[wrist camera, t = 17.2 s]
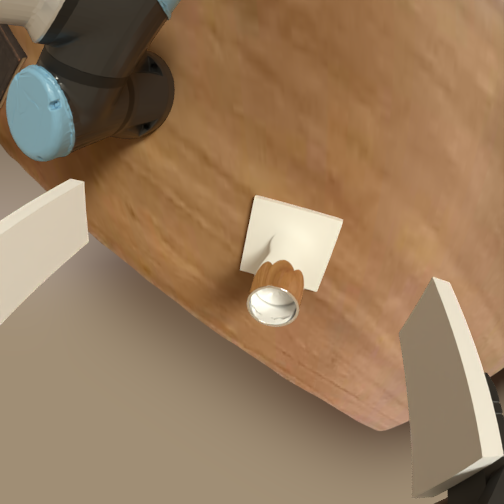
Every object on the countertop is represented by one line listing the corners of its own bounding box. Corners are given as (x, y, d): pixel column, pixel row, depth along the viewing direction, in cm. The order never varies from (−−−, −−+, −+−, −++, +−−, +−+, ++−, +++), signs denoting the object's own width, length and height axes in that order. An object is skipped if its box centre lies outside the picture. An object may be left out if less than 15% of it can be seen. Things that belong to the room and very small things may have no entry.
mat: (241, 267, 56) (239, 270, 56) (255, 194, 49) (254, 197, 48) (317, 288, 55) (316, 291, 54) (342, 219, 48) (342, 221, 47)
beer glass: (266, 227, 50) (242, 282, 38) (310, 229, 49) (301, 287, 36) (267, 264, 54) (246, 325, 41) (308, 267, 52) (299, 330, 40)
